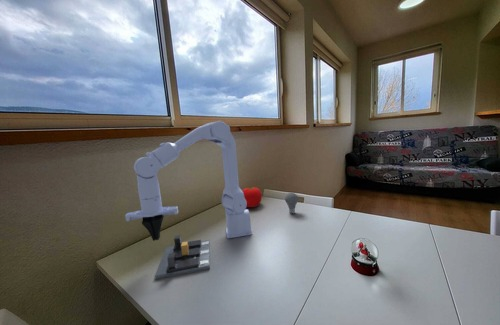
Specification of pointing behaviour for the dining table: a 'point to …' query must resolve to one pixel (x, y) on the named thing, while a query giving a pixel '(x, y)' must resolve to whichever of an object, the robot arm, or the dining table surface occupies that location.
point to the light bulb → (291, 201)
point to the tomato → (252, 196)
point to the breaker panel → (184, 259)
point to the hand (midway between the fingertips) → (156, 238)
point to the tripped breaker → (184, 248)
